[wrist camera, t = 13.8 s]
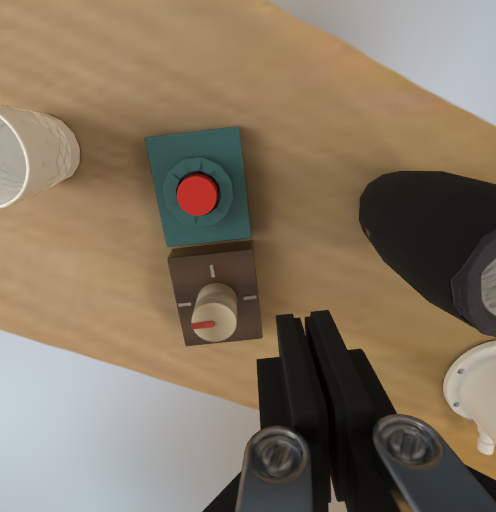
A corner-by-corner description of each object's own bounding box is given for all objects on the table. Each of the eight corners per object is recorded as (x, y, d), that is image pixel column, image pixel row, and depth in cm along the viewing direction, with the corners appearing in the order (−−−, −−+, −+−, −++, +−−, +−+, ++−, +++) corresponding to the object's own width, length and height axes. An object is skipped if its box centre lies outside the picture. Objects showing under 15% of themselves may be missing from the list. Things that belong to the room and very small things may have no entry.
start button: (220, 209, 33) (219, 213, 31) (183, 213, 33) (180, 217, 31) (214, 171, 32) (213, 174, 30) (176, 176, 32) (173, 178, 30)
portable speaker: (345, 245, 38) (438, 351, 20) (362, 159, 35) (491, 193, 17) (419, 250, 39) (577, 360, 20) (442, 166, 35) (656, 207, 17)
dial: (234, 280, 36) (233, 301, 32) (239, 315, 38) (239, 341, 33) (193, 285, 37) (186, 307, 32) (201, 320, 38) (195, 346, 34)
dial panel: (261, 324, 42) (262, 339, 39) (189, 331, 42) (185, 347, 39) (252, 240, 38) (252, 249, 35) (172, 248, 38) (166, 259, 35)
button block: (251, 231, 38) (252, 243, 34) (170, 240, 38) (163, 253, 34) (239, 126, 34) (238, 126, 30) (149, 136, 34) (138, 138, 30)
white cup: (-9, 118, 33) (-107, 115, 24) (66, 96, 33) (-5, 84, 23) (29, 196, 36) (-46, 221, 27) (99, 177, 35) (47, 195, 26)
